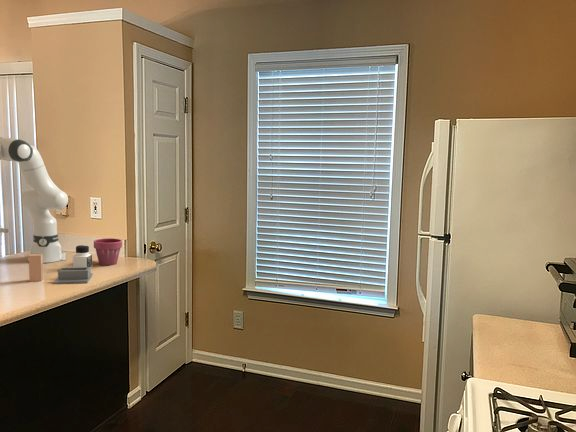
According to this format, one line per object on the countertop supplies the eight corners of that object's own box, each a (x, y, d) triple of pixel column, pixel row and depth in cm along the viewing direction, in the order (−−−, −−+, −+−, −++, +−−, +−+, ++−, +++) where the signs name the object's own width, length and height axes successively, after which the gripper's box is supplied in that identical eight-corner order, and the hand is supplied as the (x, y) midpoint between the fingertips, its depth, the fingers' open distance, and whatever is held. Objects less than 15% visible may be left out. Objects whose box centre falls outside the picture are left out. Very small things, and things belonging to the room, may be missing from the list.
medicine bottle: (87, 270, 232) (86, 247, 230) (72, 270, 231) (72, 246, 230) (92, 267, 239) (91, 244, 237) (78, 266, 238) (77, 244, 237)
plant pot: (123, 260, 256) (123, 237, 254) (121, 266, 243) (121, 242, 241) (95, 260, 252) (95, 238, 250) (92, 267, 239) (91, 243, 237)
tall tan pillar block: (31, 279, 212) (30, 254, 210) (43, 279, 213) (42, 254, 211) (29, 281, 209) (28, 255, 207) (41, 281, 210) (40, 255, 209)
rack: (61, 275, 220) (61, 265, 219) (92, 275, 223) (92, 265, 223) (53, 283, 206) (53, 273, 206) (87, 283, 210) (86, 272, 209)
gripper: (-42, 228, 191) (-4, 228, 195) (-21, 222, 211) (12, 222, 214) (-41, 243, 192) (-4, 243, 195) (-21, 235, 212) (13, 235, 215)
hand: (5, 232), depth 205 cm, fingers open, 8 cm apart
